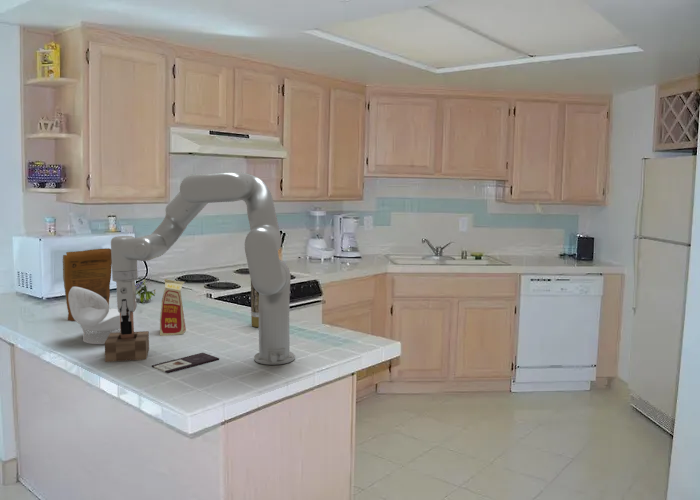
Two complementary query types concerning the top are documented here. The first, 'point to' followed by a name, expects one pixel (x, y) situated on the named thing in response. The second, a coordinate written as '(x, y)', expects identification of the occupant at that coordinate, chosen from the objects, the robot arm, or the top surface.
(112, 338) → the socket block
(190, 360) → the chocolate bar
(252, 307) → the paper tube
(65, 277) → the pancake mix bag
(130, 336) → the peg
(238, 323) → the top surface
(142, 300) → the passion flower
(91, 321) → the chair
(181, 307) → the milk carton
